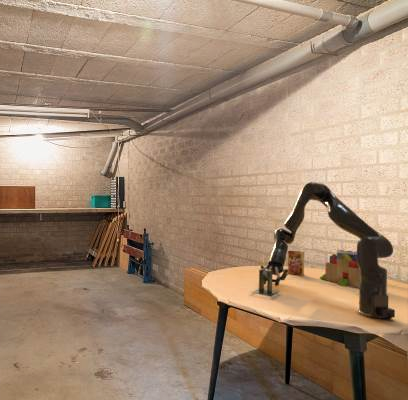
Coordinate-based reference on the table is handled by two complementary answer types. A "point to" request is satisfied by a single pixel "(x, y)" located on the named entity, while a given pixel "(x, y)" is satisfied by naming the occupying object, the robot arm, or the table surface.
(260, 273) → the bracket
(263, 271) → the lever
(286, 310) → the table surface
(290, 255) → the candy box
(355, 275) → the block set
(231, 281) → the table surface
